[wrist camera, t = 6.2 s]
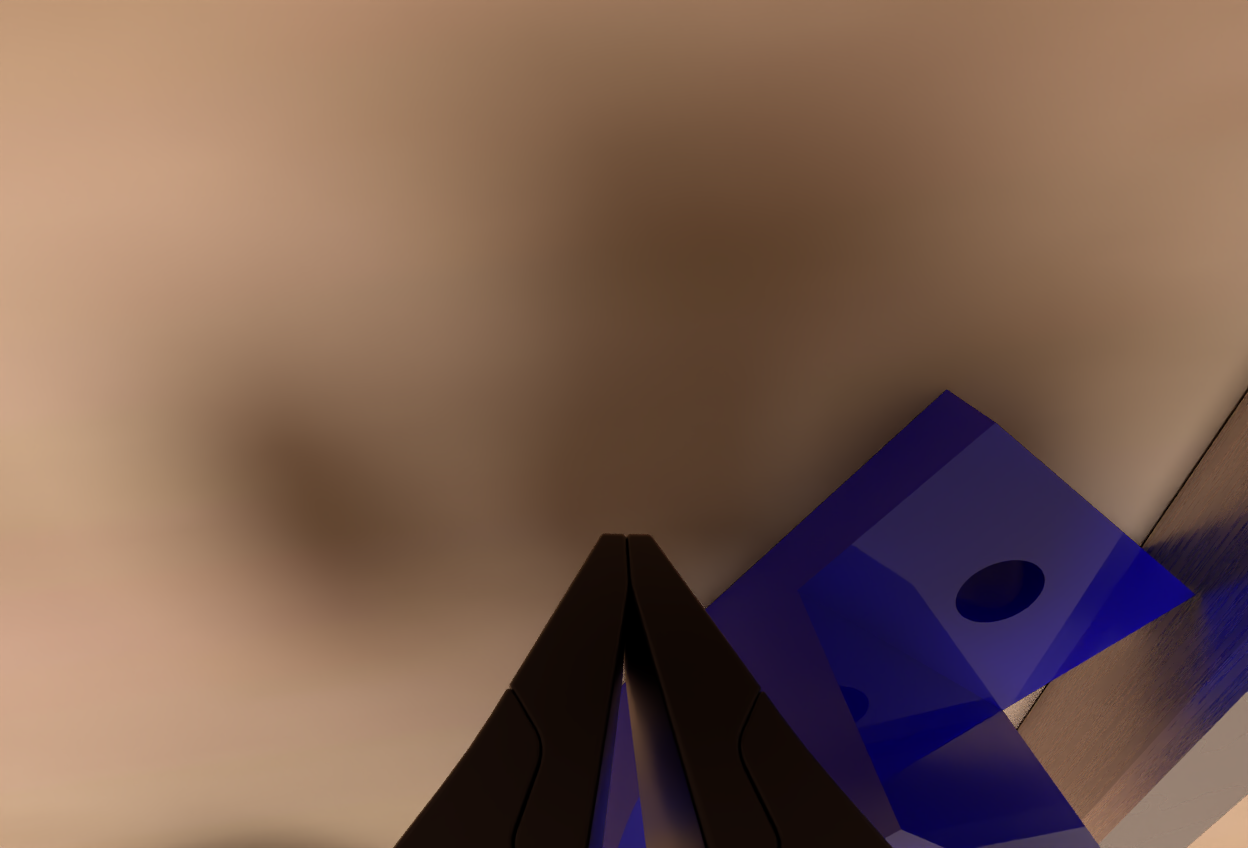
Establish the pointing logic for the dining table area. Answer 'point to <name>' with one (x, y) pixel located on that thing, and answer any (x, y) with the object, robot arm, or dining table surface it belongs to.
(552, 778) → the robot arm
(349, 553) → the dining table surface
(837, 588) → the mounting bracket
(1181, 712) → the rail
